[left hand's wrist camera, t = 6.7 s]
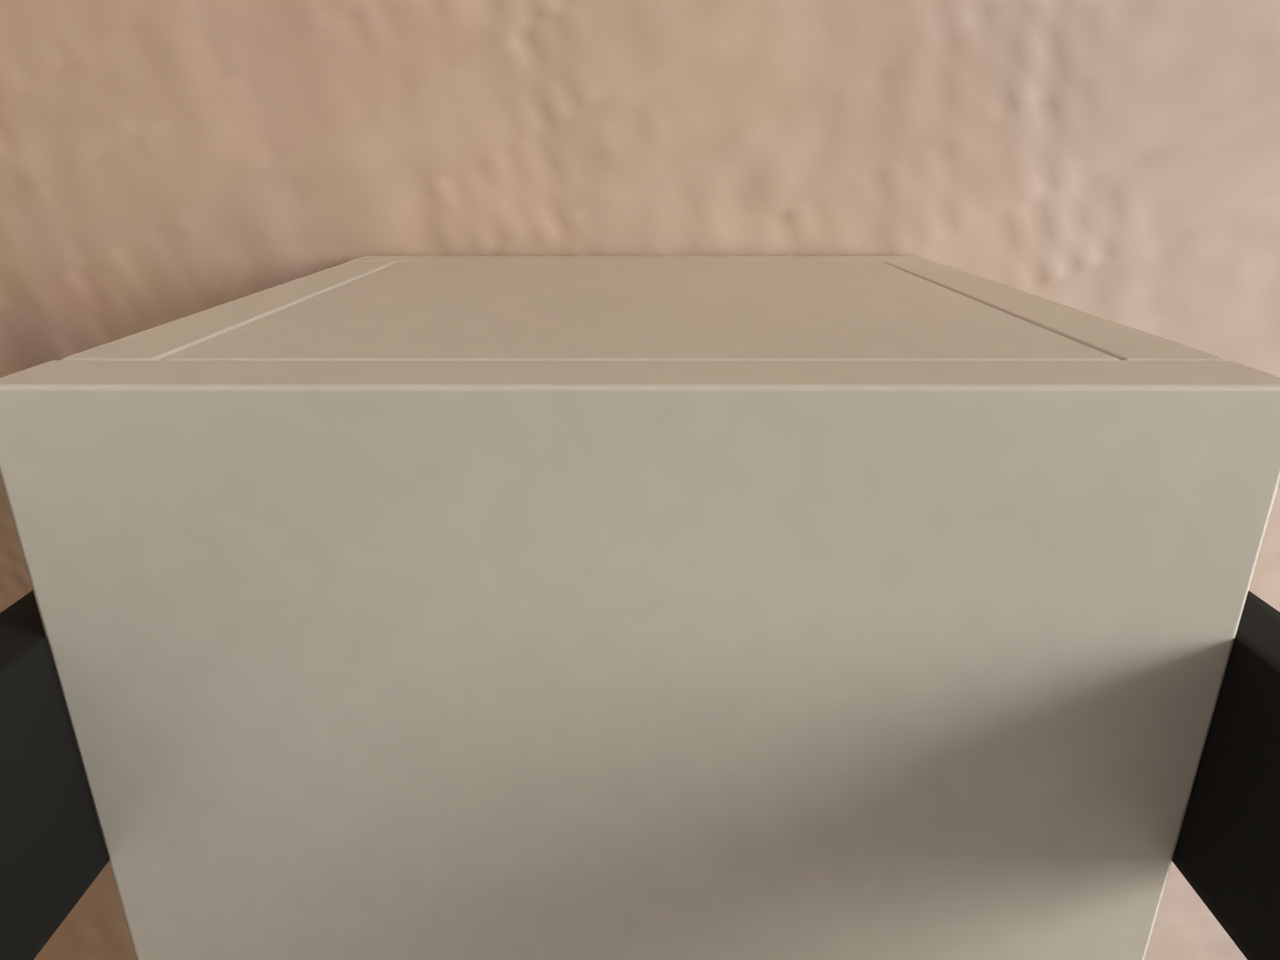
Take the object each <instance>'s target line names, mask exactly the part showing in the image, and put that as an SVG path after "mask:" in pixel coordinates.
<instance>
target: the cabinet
mask: <svg viewBox="0 0 1280 960" xmlns="http://www.w3.org/2000/svg"><path fill="white" fill-rule="evenodd" d="M0 475H1V478H2V482H3V486H4V489H5V493H6V496H7V500H8V503H9V507H10V510H11V514H12V517H13V521H14V524H15V528H16V532H17V535H18V539H19V542H20V546H21V549H22V553H23V556H24V560H25V563H26V567H27V570H28V574H29V578H30V581H31V585H32V588H33V592H34V595H35V599H36V602H37V606H38V609H39V613H40V617H41V620H42V624H43V627H44V631H45V634H46V638H47V641H48V645H49V648H50V652H51V655H52V659H53V663H54V666H55V670H56V673H57V677H58V680H59V684H60V687H61V691H62V694H63V698H64V701H65V705H66V709H67V712H68V716H69V719H70V723H71V726H72V730H73V733H74V737H75V740H76V744H77V748H78V751H79V755H80V758H81V762H82V765H83V769H84V772H85V776H86V779H87V783H88V786H89V790H90V794H91V797H92V801H93V804H94V808H95V811H96V815H97V818H98V822H99V825H100V829H101V832H102V836H103V840H104V843H105V847H106V850H107V854H108V857H109V861H110V864H111V868H112V871H113V875H114V879H115V882H116V886H117V889H118V893H119V896H120V900H121V903H122V907H123V910H124V914H125V917H126V921H127V925H128V928H129V932H130V935H131V939H132V942H133V946H134V949H135V953H136V956H137V960H1144V958H1145V954H1146V950H1147V947H1148V943H1149V940H1150V936H1151V933H1152V929H1153V926H1154V922H1155V919H1156V915H1157V912H1158V908H1159V905H1160V901H1161V897H1162V894H1163V890H1164V887H1165V883H1166V880H1167V876H1168V873H1169V869H1170V866H1171V862H1172V859H1173V855H1174V852H1175V848H1176V844H1177V841H1178V837H1179V834H1180V830H1181V827H1182V823H1183V820H1184V816H1185V813H1186V809H1187V806H1188V802H1189V798H1190V795H1191V791H1192V788H1193V784H1194V781H1195V777H1196V774H1197V770H1198V767H1199V763H1200V760H1201V756H1202V753H1203V749H1204V745H1205V742H1206V738H1207V735H1208V731H1209V728H1210V724H1211V721H1212V717H1213V714H1214V710H1215V707H1216V703H1217V700H1218V696H1219V692H1220V689H1221V685H1222V682H1223V678H1224V675H1225V671H1226V668H1227V664H1228V661H1229V657H1230V654H1231V650H1232V647H1233V643H1234V639H1235V636H1236V632H1237V629H1238V625H1239V622H1240V618H1241V615H1242V611H1243V608H1244V604H1245V601H1246V597H1247V594H1248V590H1249V586H1250V583H1251V579H1252V576H1253V572H1254V569H1255V565H1256V562H1257V558H1258V555H1259V551H1260V548H1261V544H1262V540H1263V537H1264V533H1265V530H1266V526H1267V523H1268V519H1269V516H1270V512H1271V509H1272V505H1273V502H1274V498H1275V495H1276V491H1277V487H1278V484H1279V480H1280V377H1277V376H1274V375H1271V374H1268V373H1265V372H1262V371H1259V370H1256V369H1253V368H1250V367H1247V366H1244V365H1241V364H1238V363H1235V362H1232V361H1229V360H1226V359H1224V358H1221V357H1218V356H1215V355H1212V354H1209V353H1206V352H1203V351H1200V350H1197V349H1194V348H1191V347H1188V346H1185V345H1182V344H1179V343H1176V342H1173V341H1170V340H1167V339H1164V338H1161V337H1158V336H1155V335H1152V334H1149V333H1146V332H1143V331H1140V330H1137V329H1134V328H1132V327H1129V326H1126V325H1123V324H1120V323H1117V322H1114V321H1111V320H1108V319H1105V318H1102V317H1099V316H1096V315H1093V314H1090V313H1087V312H1084V311H1081V310H1078V309H1075V308H1072V307H1069V306H1066V305H1063V304H1060V303H1057V302H1054V301H1051V300H1048V299H1045V298H1042V297H1039V296H1036V295H1033V294H1030V293H1027V292H1024V291H1021V290H1018V289H1015V288H1012V287H1009V286H1006V285H1003V284H1000V283H997V282H994V281H991V280H988V279H985V278H982V277H979V276H976V275H973V274H970V273H967V272H964V271H961V270H958V269H955V268H952V267H949V266H946V265H943V264H940V263H937V262H934V261H931V260H928V259H925V258H922V257H919V256H362V257H359V258H356V259H353V260H350V261H348V262H346V263H343V264H340V265H337V266H334V267H331V268H328V269H325V270H322V271H319V272H316V273H313V274H310V275H307V276H304V277H302V278H299V279H296V280H293V281H290V282H287V283H284V284H281V285H278V286H275V287H272V288H269V289H266V290H263V291H260V292H257V293H254V294H251V295H248V296H245V297H242V298H239V299H236V300H233V301H230V302H227V303H224V304H222V305H219V306H216V307H213V308H210V309H207V310H204V311H201V312H198V313H195V314H192V315H189V316H186V317H183V318H180V319H177V320H174V321H171V322H168V323H165V324H162V325H159V326H156V327H153V328H150V329H147V330H145V331H142V332H139V333H136V334H133V335H130V336H127V337H124V338H121V339H118V340H115V341H112V342H109V343H106V344H103V345H100V346H97V347H94V348H91V349H88V350H85V351H82V352H79V353H76V354H73V355H70V356H67V357H65V358H63V359H61V360H52V361H49V362H46V363H43V364H40V365H37V366H34V367H31V368H28V369H25V370H22V371H19V372H16V373H13V374H10V375H7V376H4V377H1V378H0Z"/></svg>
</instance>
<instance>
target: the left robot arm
mask: <svg viewBox="0 0 1280 960" xmlns="http://www.w3.org/2000/svg"><path fill="white" fill-rule="evenodd" d="M108 861H109V857H108V854H107V850H106V847H105V843H104V840H103V836H102V832H101V829H100V825H99V822H98V818H97V815H96V811H95V808H94V804H93V801H92V797H91V794H90V790H89V786H88V783H87V779H86V776H85V772H84V769H83V765H82V762H81V758H80V755H79V751H78V748H77V744H76V740H75V737H74V733H73V730H72V726H71V723H70V719H69V716H68V712H67V709H66V705H65V701H64V698H63V694H62V691H61V687H60V684H59V680H58V677H57V673H56V670H55V666H54V663H53V659H52V655H51V652H50V648H49V645H48V641H47V638H46V634H45V631H44V627H43V624H42V620H41V617H40V613H39V609H38V606H37V602H36V599H35V595H34V592H33V591H31V592H30V593H28V594H27V595H26V596H24V597H23V598H21V599H20V600H18V601H17V602H16V603H14V604H13V605H11V606H10V607H8V608H7V609H6V610H4V611H3V612H1V613H0V960H33V959H34V958H35V957H36V956H37V954H38V953H39V952H40V950H41V949H42V948H43V946H44V945H45V944H46V942H47V941H48V940H49V939H50V937H51V936H52V935H53V933H54V932H55V931H56V929H57V928H58V927H59V925H60V924H61V923H62V921H63V920H64V919H65V918H66V916H67V915H68V914H69V912H70V911H71V910H72V908H73V907H74V906H75V904H76V903H77V902H78V901H79V899H80V898H81V897H82V895H83V894H84V893H85V891H86V890H87V889H88V887H89V886H90V885H91V883H92V882H93V881H94V880H95V878H96V877H97V876H98V874H99V873H100V872H101V870H102V869H103V868H104V866H105V865H106V864H107V863H108ZM1172 861H1173V863H1174V864H1175V865H1176V866H1177V868H1178V869H1179V870H1180V872H1181V873H1182V874H1183V876H1184V877H1185V878H1186V880H1187V881H1188V882H1189V884H1190V885H1191V886H1192V887H1193V889H1194V890H1195V891H1196V893H1197V894H1198V895H1199V897H1200V898H1201V899H1202V901H1203V902H1204V903H1205V904H1206V906H1207V907H1208V908H1209V910H1210V911H1211V912H1212V914H1213V915H1214V916H1215V918H1216V919H1217V920H1218V922H1219V923H1220V924H1221V925H1222V927H1223V928H1224V929H1225V931H1226V932H1227V933H1228V935H1229V936H1230V937H1231V939H1232V940H1233V941H1234V942H1235V944H1236V945H1237V946H1238V948H1239V949H1240V950H1241V952H1242V953H1243V954H1244V956H1245V957H1246V958H1247V960H1280V612H1278V611H1277V610H1276V609H1274V608H1273V607H1271V606H1270V605H1268V604H1267V603H1266V602H1264V601H1263V600H1261V599H1260V598H1258V597H1257V596H1256V595H1254V594H1253V593H1251V592H1250V591H1248V594H1247V597H1246V601H1245V604H1244V608H1243V611H1242V615H1241V618H1240V622H1239V625H1238V629H1237V632H1236V636H1235V639H1234V643H1233V647H1232V650H1231V654H1230V657H1229V661H1228V664H1227V668H1226V671H1225V675H1224V678H1223V682H1222V685H1221V689H1220V692H1219V696H1218V700H1217V703H1216V707H1215V710H1214V714H1213V717H1212V721H1211V724H1210V728H1209V731H1208V735H1207V738H1206V742H1205V745H1204V749H1203V753H1202V756H1201V760H1200V763H1199V767H1198V770H1197V774H1196V777H1195V781H1194V784H1193V788H1192V791H1191V795H1190V798H1189V802H1188V806H1187V809H1186V813H1185V816H1184V820H1183V823H1182V827H1181V830H1180V834H1179V837H1178V841H1177V844H1176V848H1175V852H1174V855H1173V859H1172Z"/></svg>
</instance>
